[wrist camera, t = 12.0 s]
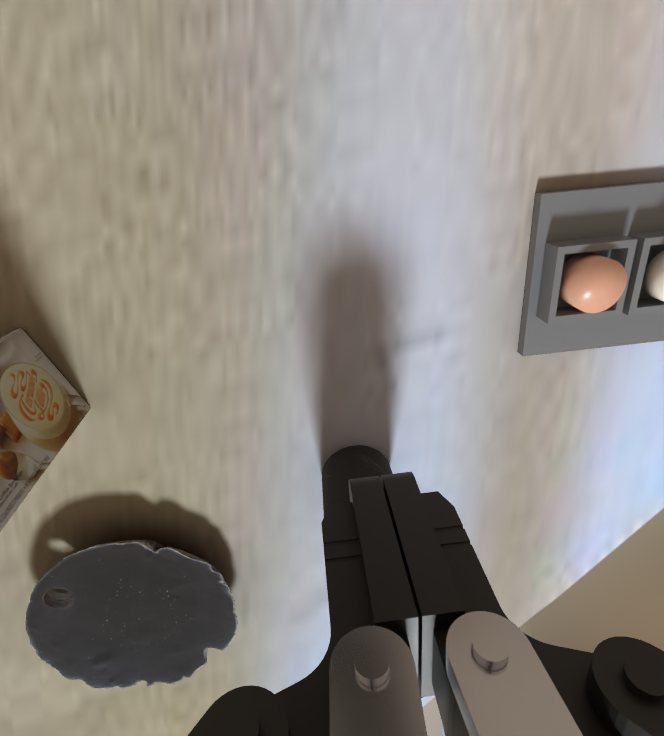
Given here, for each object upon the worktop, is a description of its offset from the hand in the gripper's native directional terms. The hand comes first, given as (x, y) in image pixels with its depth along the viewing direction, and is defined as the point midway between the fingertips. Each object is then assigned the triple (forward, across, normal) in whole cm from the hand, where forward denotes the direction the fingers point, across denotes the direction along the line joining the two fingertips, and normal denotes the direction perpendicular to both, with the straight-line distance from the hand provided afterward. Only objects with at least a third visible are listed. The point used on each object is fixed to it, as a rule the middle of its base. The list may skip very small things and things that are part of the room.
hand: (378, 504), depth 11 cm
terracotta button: (+27, -22, +4) cm, 35 cm away
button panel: (+29, -29, +4) cm, 41 cm away
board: (+29, +23, +36) cm, 52 cm away
